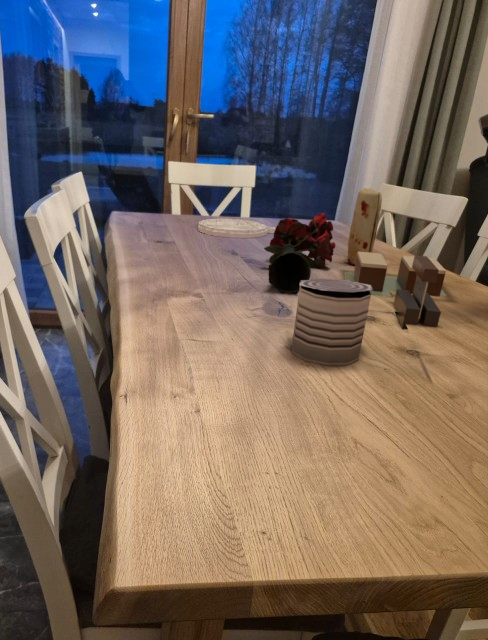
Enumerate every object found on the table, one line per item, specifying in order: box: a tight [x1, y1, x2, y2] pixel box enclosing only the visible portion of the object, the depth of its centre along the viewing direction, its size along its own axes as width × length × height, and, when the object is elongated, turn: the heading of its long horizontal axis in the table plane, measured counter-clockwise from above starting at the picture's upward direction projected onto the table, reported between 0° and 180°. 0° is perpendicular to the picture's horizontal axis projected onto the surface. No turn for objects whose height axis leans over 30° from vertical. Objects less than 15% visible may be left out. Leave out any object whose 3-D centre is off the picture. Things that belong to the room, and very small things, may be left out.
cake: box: [396, 255, 447, 297], centre depth 133 cm, size 8×13×6 cm, turn 169°
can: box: [291, 278, 373, 367], centre depth 93 cm, size 11×11×12 cm
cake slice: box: [353, 252, 389, 292], centre depth 135 cm, size 6×13×6 cm, turn 169°
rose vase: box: [263, 212, 336, 294], centre depth 140 cm, size 16×18×35 cm
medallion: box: [197, 218, 276, 239], centre depth 194 cm, size 24×27×2 cm
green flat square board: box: [343, 271, 448, 298], centre depth 135 cm, size 22×20×1 cm
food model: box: [347, 187, 383, 267], centre depth 151 cm, size 10×7×20 cm
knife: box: [411, 254, 439, 323], centre depth 112 cm, size 12×2×11 cm, turn 169°
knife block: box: [393, 289, 442, 330], centre depth 114 cm, size 14×6×4 cm, turn 169°
